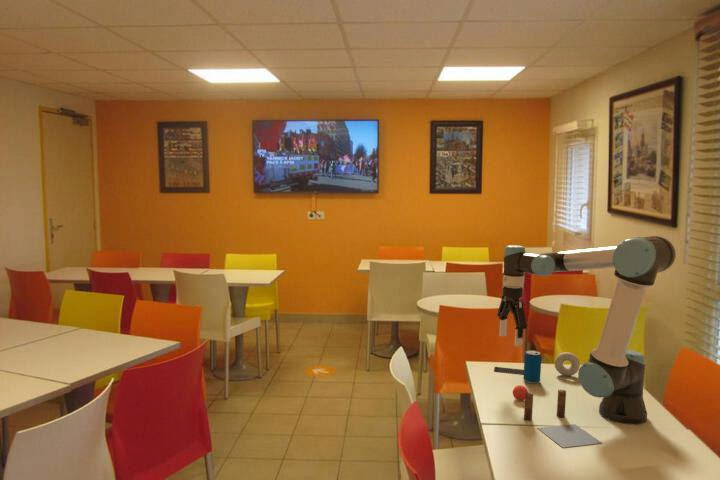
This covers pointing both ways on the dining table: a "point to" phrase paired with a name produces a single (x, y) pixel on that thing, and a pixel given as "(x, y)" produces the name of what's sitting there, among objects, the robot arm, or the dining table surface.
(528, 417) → the post left
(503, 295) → the robot arm
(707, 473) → the dining table surface
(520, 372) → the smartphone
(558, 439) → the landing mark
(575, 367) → the donut
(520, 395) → the ball
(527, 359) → the beverage can
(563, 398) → the post right
